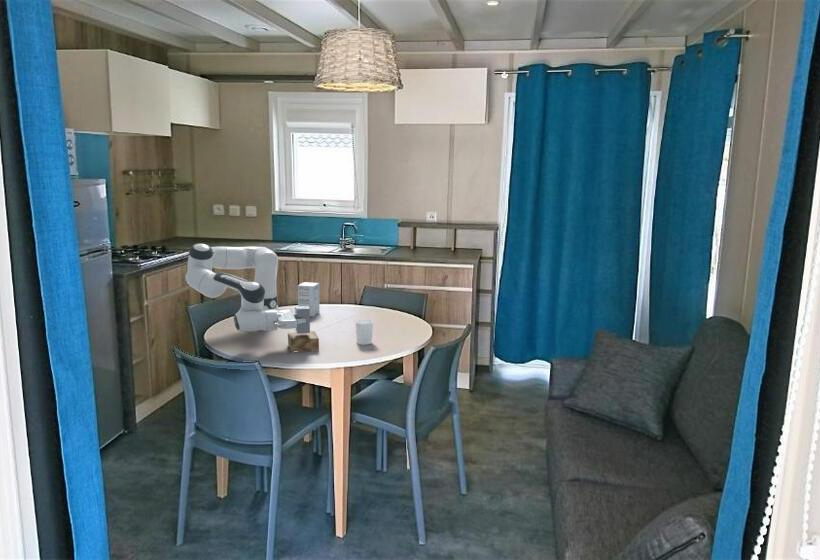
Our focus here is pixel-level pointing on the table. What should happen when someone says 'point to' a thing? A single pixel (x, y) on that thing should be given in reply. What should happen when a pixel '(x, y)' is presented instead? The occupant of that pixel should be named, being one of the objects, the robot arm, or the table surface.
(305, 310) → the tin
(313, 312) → the supplement box
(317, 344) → the walnut block
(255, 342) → the table surface
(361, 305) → the table surface
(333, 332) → the table surface
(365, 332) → the white cup
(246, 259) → the robot arm
